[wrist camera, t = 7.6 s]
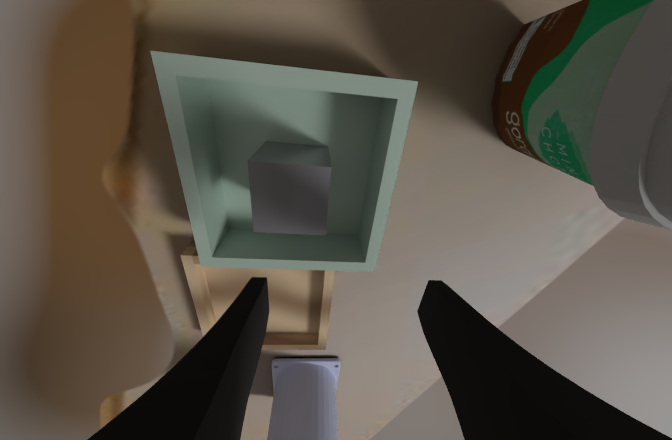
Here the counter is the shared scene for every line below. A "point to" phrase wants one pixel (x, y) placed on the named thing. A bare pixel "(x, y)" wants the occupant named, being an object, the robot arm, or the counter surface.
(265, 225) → the stone block
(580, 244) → the counter surface
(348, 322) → the counter surface
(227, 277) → the oak tray
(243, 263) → the green bin
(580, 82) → the food container
